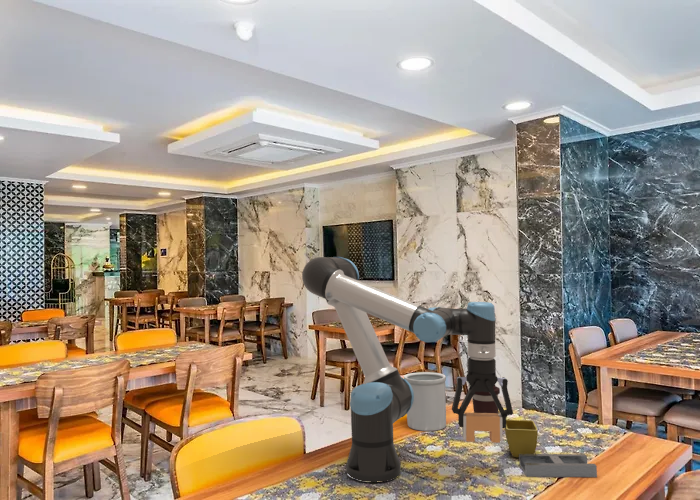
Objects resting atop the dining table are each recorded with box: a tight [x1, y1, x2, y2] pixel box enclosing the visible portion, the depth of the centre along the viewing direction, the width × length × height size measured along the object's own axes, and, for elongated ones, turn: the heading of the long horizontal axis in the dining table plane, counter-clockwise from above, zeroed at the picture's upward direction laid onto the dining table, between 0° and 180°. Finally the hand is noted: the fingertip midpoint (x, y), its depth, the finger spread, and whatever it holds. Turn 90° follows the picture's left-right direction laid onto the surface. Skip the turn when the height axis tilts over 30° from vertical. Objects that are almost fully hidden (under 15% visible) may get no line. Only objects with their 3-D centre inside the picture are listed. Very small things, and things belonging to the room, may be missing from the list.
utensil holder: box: [403, 371, 447, 432], centre depth 177 cm, size 15×15×18 cm
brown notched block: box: [464, 412, 501, 444], centre depth 137 cm, size 9×3×7 cm, turn 84°
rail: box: [518, 453, 598, 478], centre depth 135 cm, size 18×8×3 cm, turn 85°
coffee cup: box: [471, 384, 501, 414], centre depth 173 cm, size 10×10×15 cm
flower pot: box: [504, 419, 539, 458], centre depth 147 cm, size 9×9×9 cm
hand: (482, 439), depth 137 cm, fingers closed on brown notched block, 9 cm apart
